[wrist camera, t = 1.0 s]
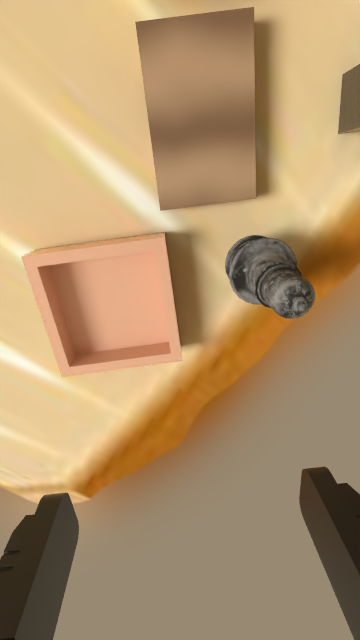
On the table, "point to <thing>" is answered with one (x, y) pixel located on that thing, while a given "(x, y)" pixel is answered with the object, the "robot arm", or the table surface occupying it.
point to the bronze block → (201, 106)
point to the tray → (107, 303)
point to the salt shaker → (269, 276)
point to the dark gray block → (350, 101)
